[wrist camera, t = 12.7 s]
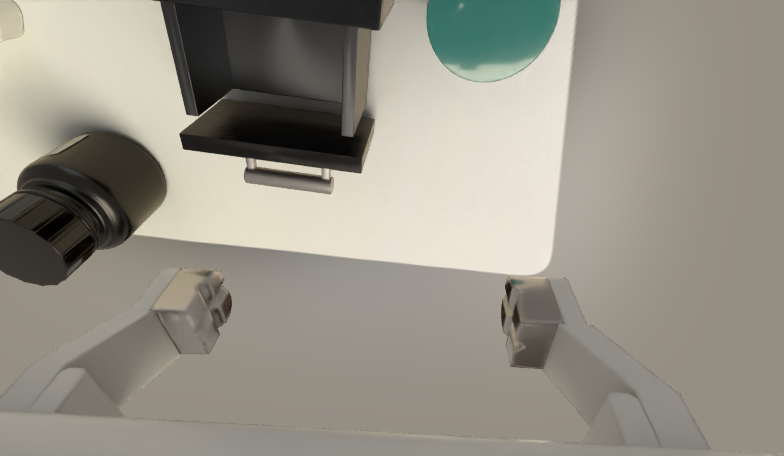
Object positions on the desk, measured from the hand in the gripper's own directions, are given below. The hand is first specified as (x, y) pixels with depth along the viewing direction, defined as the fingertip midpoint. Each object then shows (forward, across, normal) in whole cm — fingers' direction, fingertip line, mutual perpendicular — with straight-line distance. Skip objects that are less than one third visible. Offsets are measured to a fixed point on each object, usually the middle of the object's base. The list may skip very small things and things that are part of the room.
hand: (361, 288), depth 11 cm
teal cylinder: (+23, -5, -5) cm, 24 cm away
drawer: (+22, +8, -1) cm, 24 cm away
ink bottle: (+24, +27, +9) cm, 38 cm away
